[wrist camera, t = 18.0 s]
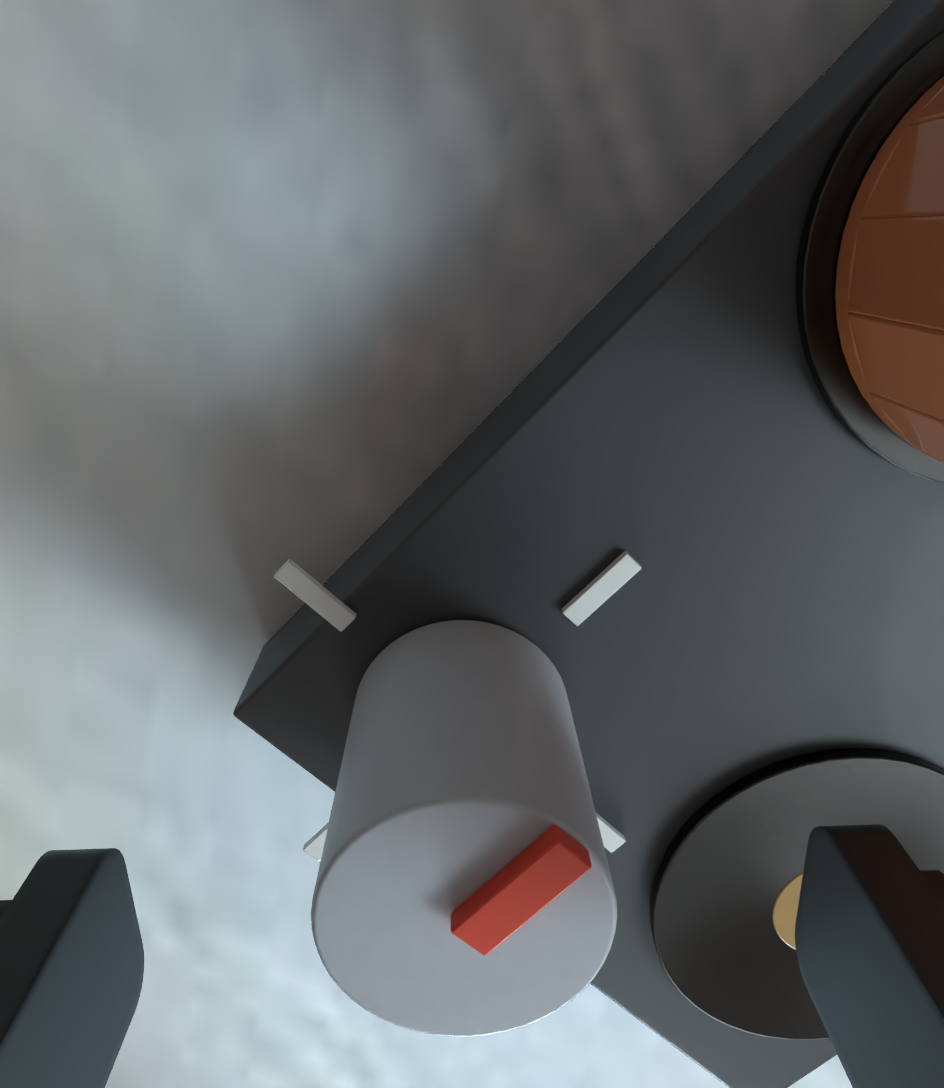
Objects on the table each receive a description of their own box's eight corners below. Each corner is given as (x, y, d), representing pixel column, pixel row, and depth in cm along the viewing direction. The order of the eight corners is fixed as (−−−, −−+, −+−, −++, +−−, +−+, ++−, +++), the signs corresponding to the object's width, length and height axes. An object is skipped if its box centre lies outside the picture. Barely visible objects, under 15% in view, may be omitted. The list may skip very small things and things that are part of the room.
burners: (285, 677, 14) (281, 686, 14) (1112, -151, 10) (1132, -162, 10) (795, 1075, 17) (801, 1090, 17) (1551, 568, 14) (1576, 576, 13)
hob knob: (466, 838, 15) (472, 1104, 10) (310, 720, 14) (240, 956, 10) (612, 708, 14) (689, 937, 10) (455, 575, 13) (456, 757, 9)
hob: (179, 651, 16) (129, 726, 14) (1008, -227, 12) (1156, -349, 9) (683, 1034, 20) (715, 1146, 18) (1456, 482, 16) (1644, 529, 13)
